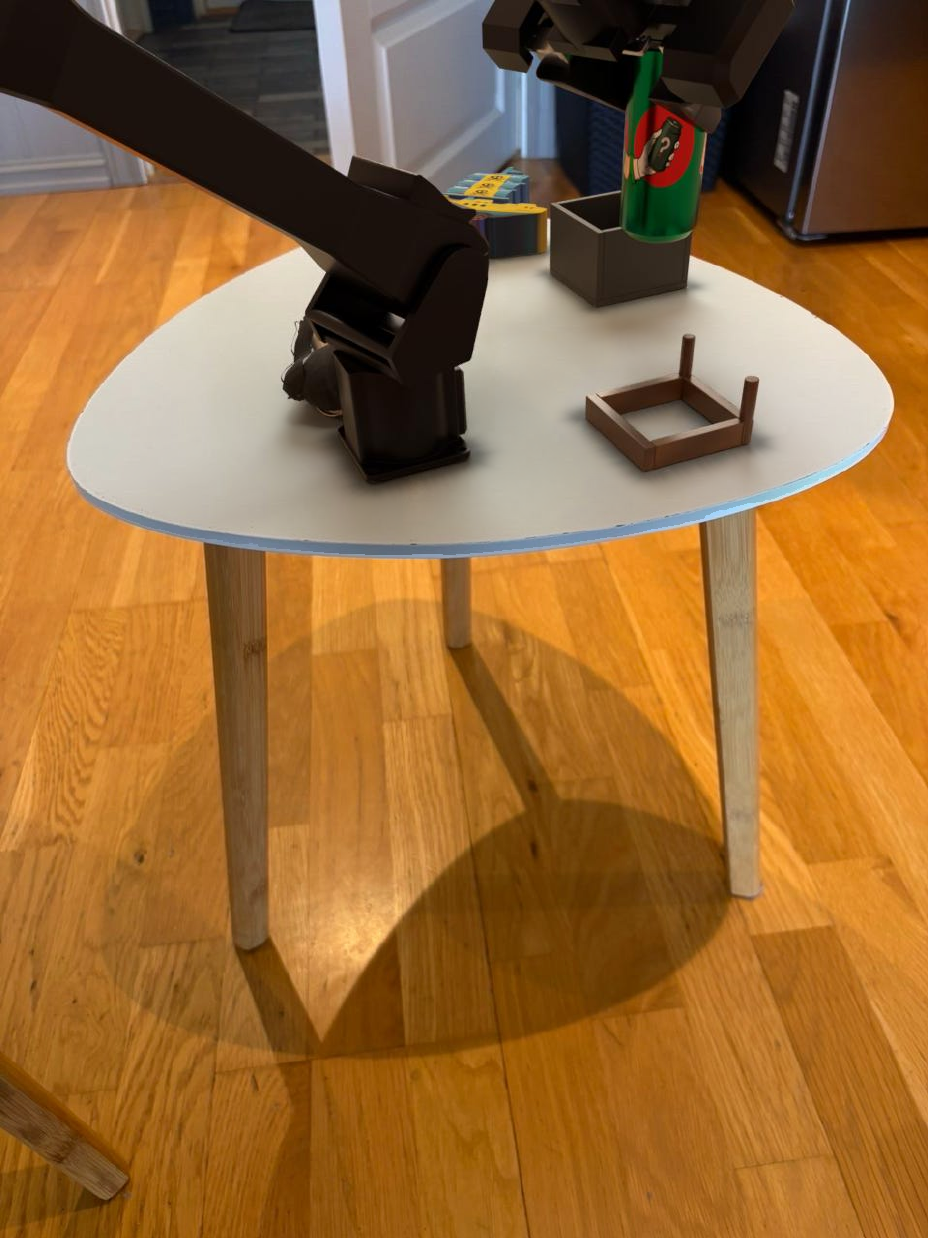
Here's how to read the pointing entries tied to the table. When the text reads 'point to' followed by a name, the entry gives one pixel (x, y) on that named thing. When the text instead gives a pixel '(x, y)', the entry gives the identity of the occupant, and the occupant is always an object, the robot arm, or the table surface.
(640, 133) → the soda can
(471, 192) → the toy
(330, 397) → the toy figure
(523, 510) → the table surface
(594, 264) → the open-top storage bin
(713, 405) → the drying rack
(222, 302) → the table surface
